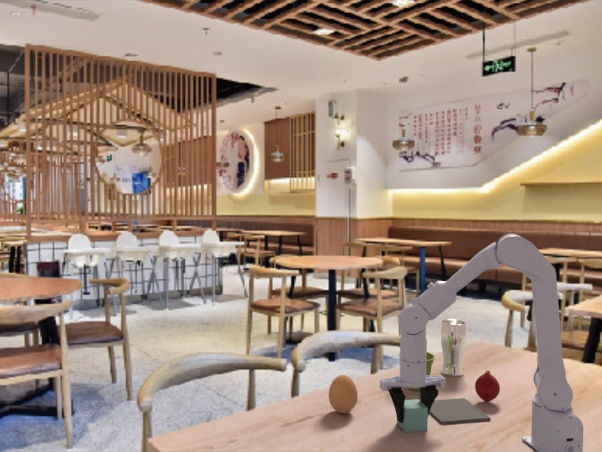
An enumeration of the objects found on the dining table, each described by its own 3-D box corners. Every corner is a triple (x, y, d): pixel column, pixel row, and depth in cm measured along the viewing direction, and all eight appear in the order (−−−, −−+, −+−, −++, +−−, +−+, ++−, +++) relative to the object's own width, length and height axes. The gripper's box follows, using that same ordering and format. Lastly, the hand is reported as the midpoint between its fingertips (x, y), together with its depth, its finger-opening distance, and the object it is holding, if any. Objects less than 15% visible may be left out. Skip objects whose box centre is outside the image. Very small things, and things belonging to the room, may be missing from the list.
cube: (427, 430, 113) (427, 407, 113) (405, 432, 113) (405, 409, 112) (417, 420, 118) (418, 399, 118) (397, 422, 117) (397, 400, 117)
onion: (501, 407, 126) (502, 375, 126) (476, 405, 128) (477, 373, 127) (497, 398, 132) (498, 367, 132) (473, 397, 133) (474, 366, 133)
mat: (490, 420, 119) (490, 417, 119) (441, 424, 117) (441, 421, 117) (464, 400, 131) (464, 398, 131) (419, 403, 129) (419, 401, 129)
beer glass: (435, 371, 153) (436, 320, 153) (453, 368, 156) (454, 318, 156) (451, 378, 147) (452, 325, 146) (470, 375, 150) (471, 323, 149)
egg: (323, 409, 125) (324, 372, 124) (349, 405, 127) (349, 369, 127) (335, 420, 118) (336, 381, 118) (362, 416, 121) (362, 378, 120)
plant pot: (442, 390, 138) (442, 357, 138) (413, 395, 134) (413, 362, 133) (419, 379, 146) (420, 348, 146) (391, 384, 142) (392, 352, 142)
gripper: (435, 352, 120) (434, 410, 121) (375, 355, 117) (374, 414, 118) (450, 361, 113) (449, 423, 114) (386, 365, 110) (385, 428, 111)
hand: (412, 420), depth 115 cm, fingers closed on cube, 5 cm apart
